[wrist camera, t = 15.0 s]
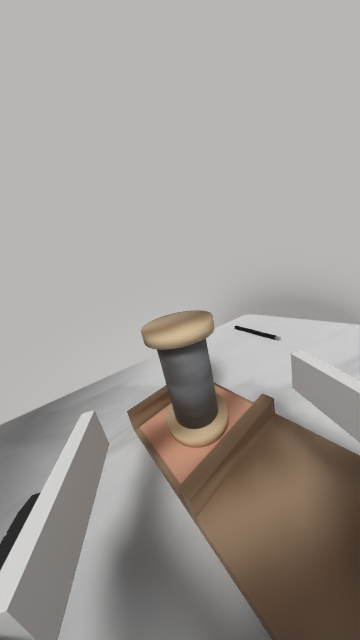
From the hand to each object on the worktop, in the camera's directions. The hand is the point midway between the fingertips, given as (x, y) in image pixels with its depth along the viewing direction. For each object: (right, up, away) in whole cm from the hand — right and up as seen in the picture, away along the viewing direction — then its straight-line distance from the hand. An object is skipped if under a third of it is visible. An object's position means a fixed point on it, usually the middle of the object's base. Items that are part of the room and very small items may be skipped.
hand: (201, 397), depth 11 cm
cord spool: (+1, -6, +9) cm, 11 cm away
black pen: (+16, +1, +30) cm, 34 cm away
